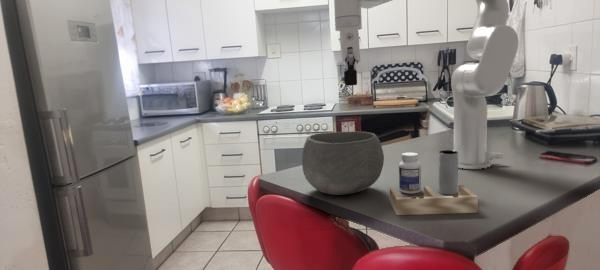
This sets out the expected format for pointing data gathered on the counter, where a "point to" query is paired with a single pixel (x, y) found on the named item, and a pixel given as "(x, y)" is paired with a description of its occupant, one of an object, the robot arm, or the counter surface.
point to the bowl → (342, 161)
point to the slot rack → (435, 202)
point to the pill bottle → (410, 174)
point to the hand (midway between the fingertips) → (350, 84)
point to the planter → (448, 172)
